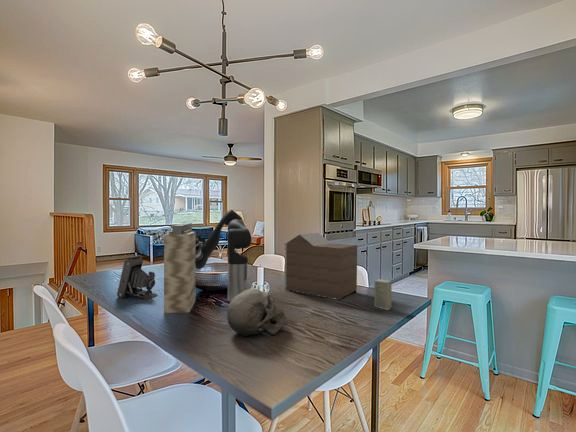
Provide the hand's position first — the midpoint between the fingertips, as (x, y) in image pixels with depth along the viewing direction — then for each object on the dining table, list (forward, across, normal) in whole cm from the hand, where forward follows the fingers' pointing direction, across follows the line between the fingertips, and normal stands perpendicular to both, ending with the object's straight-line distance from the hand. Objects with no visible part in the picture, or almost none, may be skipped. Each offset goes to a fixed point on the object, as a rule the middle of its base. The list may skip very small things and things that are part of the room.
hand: (189, 236), depth 159 cm
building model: (-14, +67, +26) cm, 73 cm away
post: (+5, 0, +36) cm, 36 cm away
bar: (+17, 0, +6) cm, 18 cm away
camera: (-12, -23, +26) cm, 37 cm away
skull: (+33, +32, +53) cm, 70 cm away
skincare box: (+14, +87, +42) cm, 98 cm away
